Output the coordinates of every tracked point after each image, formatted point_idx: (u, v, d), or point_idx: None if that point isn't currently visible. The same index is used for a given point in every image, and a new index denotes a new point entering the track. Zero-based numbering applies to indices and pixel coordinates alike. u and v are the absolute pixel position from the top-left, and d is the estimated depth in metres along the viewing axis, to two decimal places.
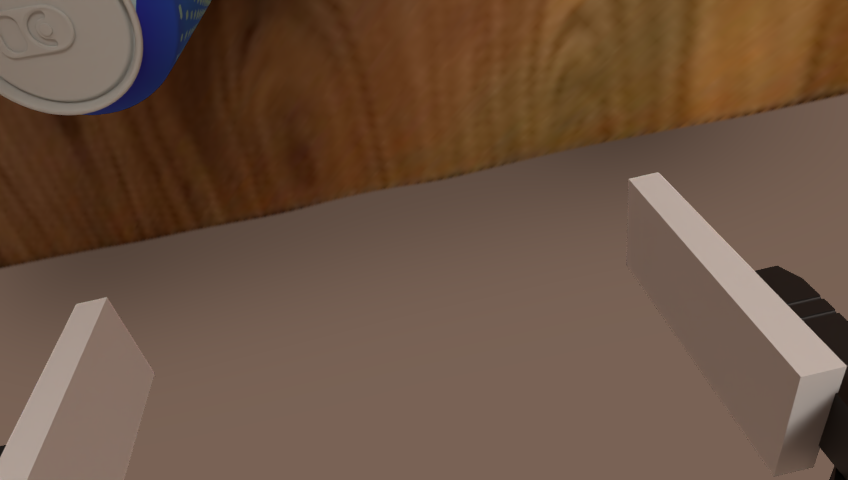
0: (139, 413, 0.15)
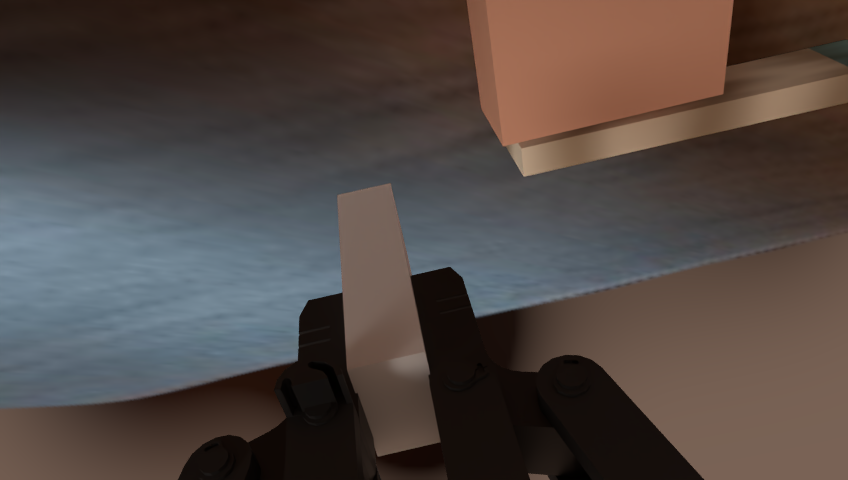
0: None
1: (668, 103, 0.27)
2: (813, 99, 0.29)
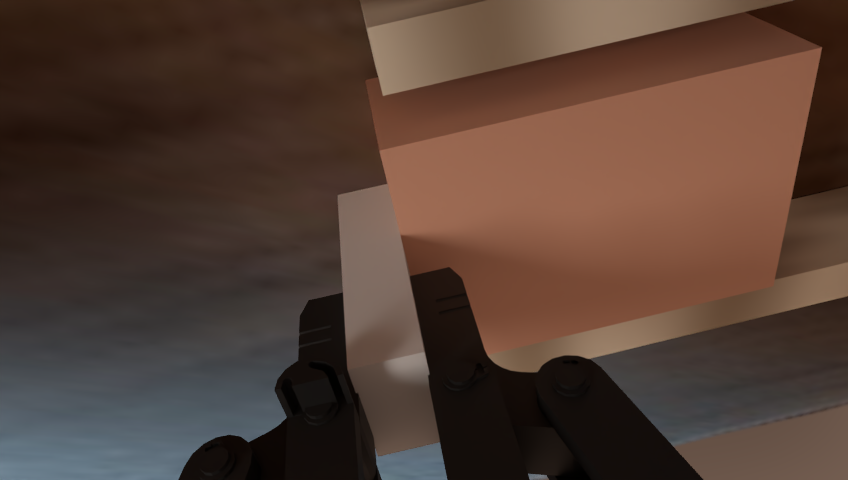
0: None
1: (689, 301, 0.17)
2: None
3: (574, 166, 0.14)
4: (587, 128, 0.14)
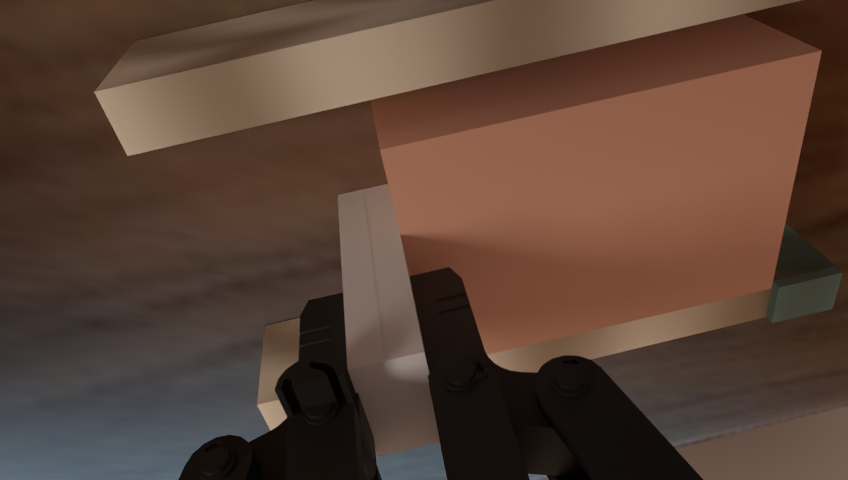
0: None
1: (688, 303, 0.17)
2: (707, 318, 0.19)
3: (574, 167, 0.14)
4: (587, 129, 0.14)
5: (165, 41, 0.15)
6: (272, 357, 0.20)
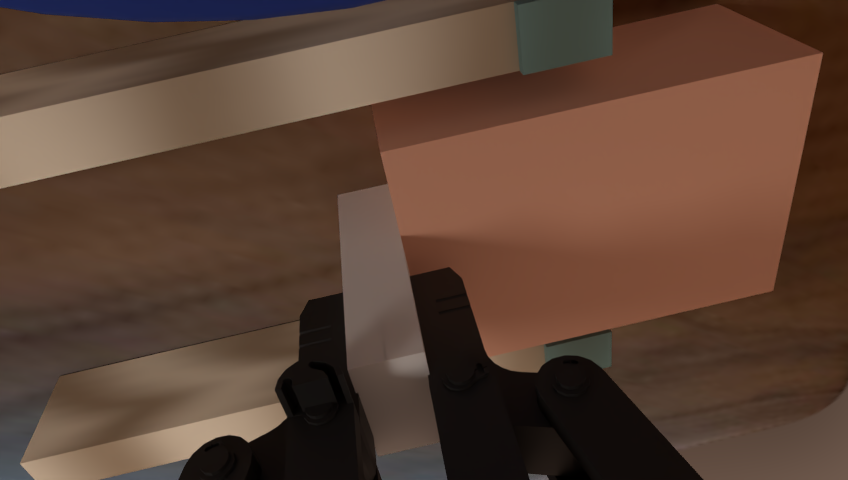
0: None
1: (689, 305, 0.17)
2: None
3: (575, 170, 0.14)
4: (588, 131, 0.14)
5: None
6: (53, 411, 0.20)
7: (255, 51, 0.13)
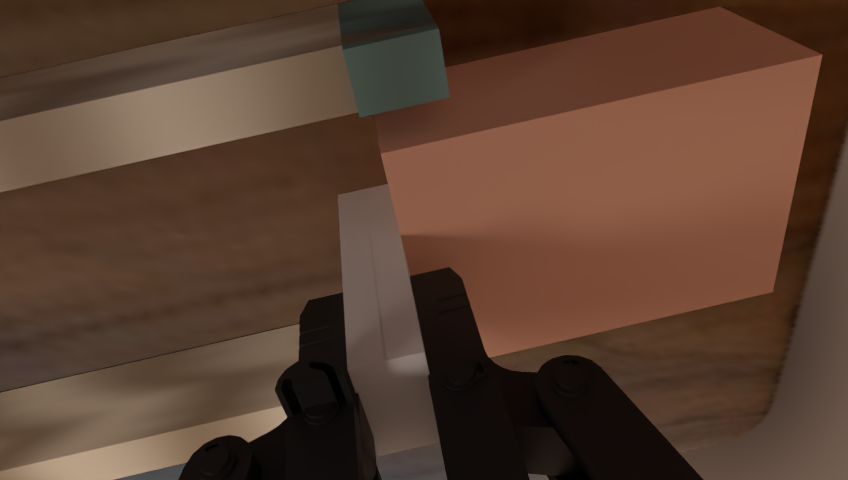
0: None
1: (688, 306, 0.17)
2: None
3: (575, 171, 0.14)
4: (588, 133, 0.14)
5: None
6: None
7: (86, 94, 0.13)
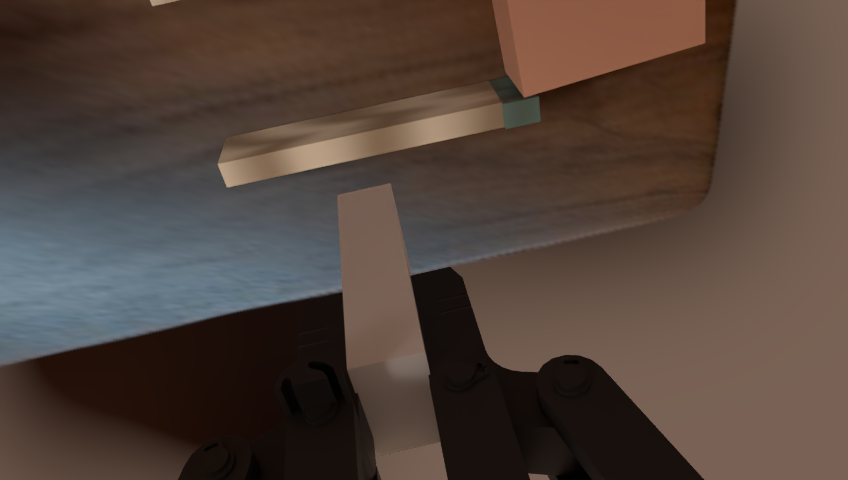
0: None
1: (659, 53, 0.33)
2: (469, 125, 0.34)
3: None
4: None
5: None
6: (228, 148, 0.35)
7: None
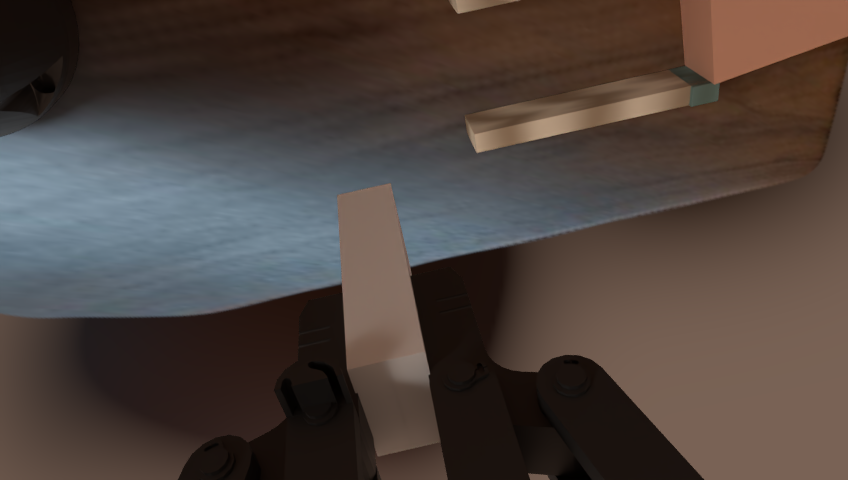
0: None
1: (818, 44, 0.43)
2: (663, 103, 0.45)
3: None
4: None
5: None
6: (473, 122, 0.45)
7: None
